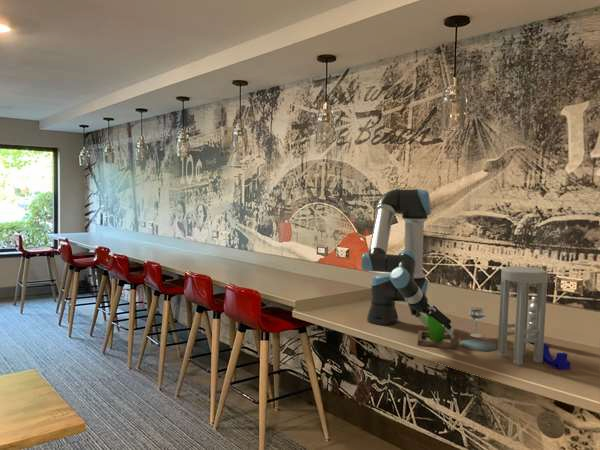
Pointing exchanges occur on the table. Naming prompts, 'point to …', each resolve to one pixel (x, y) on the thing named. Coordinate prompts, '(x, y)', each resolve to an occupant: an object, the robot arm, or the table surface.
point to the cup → (435, 329)
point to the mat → (478, 345)
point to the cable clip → (560, 360)
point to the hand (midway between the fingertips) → (439, 328)
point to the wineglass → (476, 317)
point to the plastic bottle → (532, 316)
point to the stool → (522, 311)
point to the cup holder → (436, 343)
